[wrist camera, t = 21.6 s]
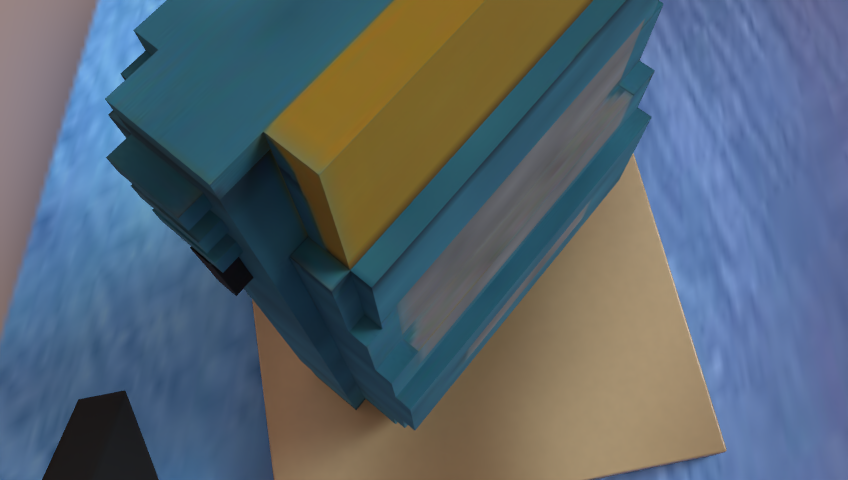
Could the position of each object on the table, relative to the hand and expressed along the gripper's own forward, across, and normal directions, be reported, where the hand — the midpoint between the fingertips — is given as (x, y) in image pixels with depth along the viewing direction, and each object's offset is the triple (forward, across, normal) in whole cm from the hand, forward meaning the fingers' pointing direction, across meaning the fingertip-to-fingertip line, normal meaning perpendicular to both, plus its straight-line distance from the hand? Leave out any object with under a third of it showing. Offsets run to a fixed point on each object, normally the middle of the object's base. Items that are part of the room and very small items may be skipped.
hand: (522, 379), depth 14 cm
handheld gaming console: (+9, 0, -3) cm, 10 cm away
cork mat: (+10, 0, -3) cm, 10 cm away
